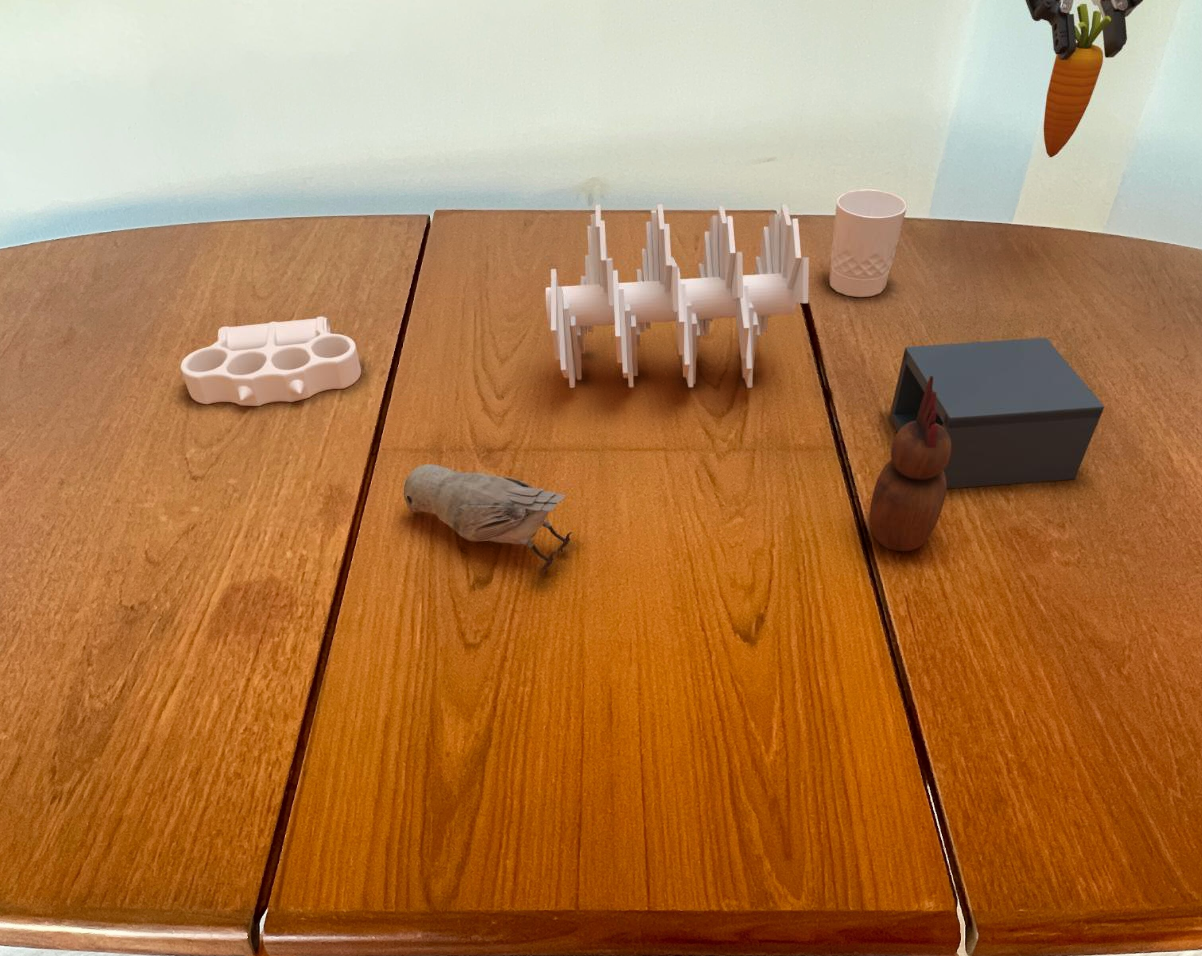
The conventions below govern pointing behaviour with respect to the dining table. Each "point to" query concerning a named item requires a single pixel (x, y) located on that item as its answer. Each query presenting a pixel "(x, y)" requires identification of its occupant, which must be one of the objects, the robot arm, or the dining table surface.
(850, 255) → the white cup
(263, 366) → the white brass knuckles
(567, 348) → the spiral staircase
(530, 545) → the decorative bird
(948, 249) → the dining table surface
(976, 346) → the shelf
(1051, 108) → the carrot
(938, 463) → the wooden figurine
